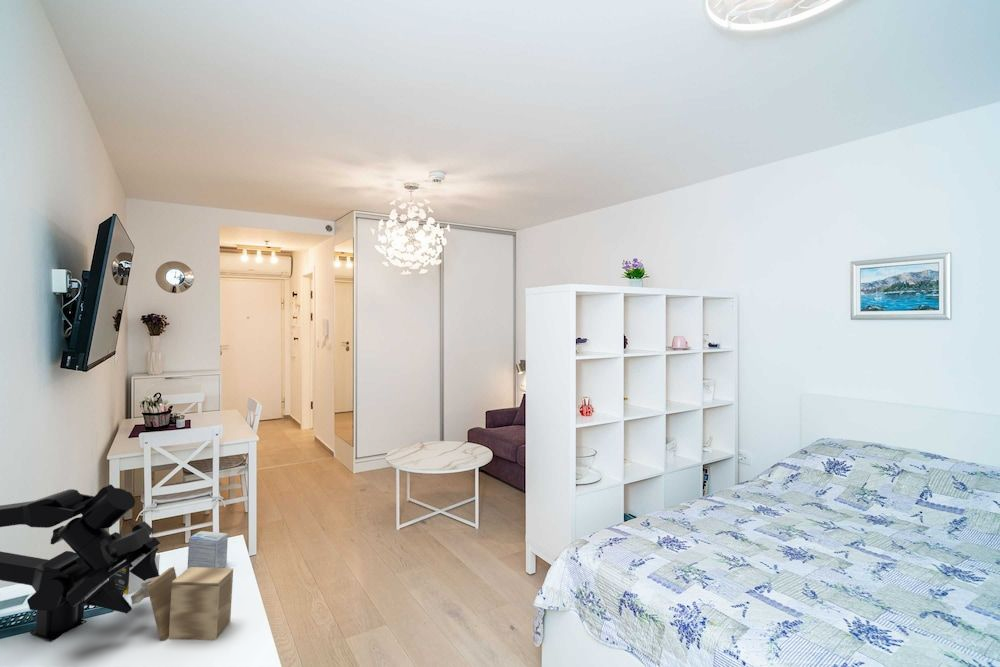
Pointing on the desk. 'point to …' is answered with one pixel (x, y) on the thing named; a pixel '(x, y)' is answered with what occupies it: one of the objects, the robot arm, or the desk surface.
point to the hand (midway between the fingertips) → (145, 598)
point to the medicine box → (208, 550)
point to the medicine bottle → (130, 578)
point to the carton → (200, 603)
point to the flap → (158, 599)
